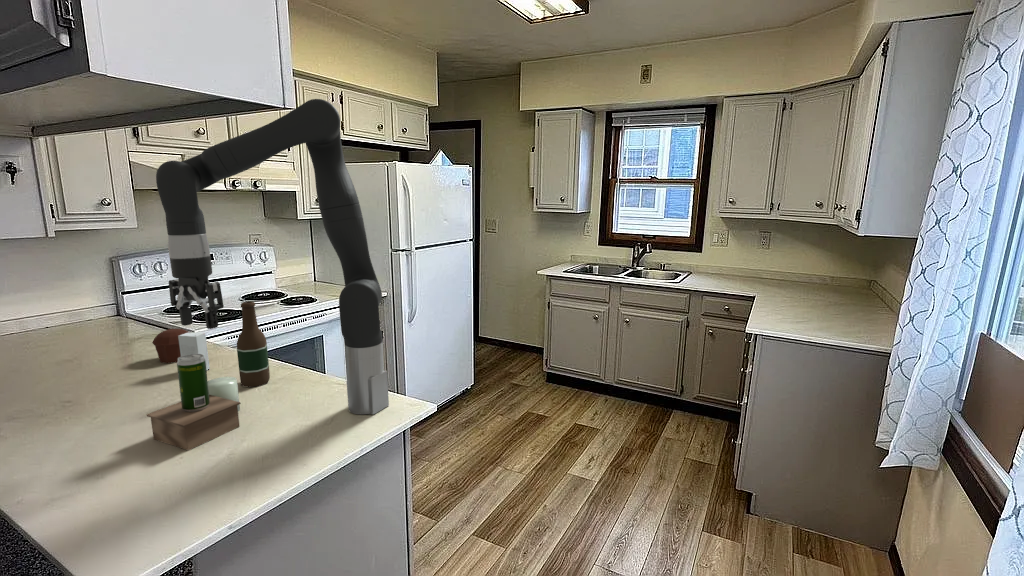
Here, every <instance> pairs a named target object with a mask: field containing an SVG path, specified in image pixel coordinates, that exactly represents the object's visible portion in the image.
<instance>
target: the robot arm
mask: <svg viewBox="0 0 1024 576" xmlns="http://www.w3.org/2000/svg"><path fill="white" fill-rule="evenodd" d="M303 144H305V145H306V148H307V150H308V151H307V152H308V154H309V157H310V160H311V162H312V167H313V171H314V178H315V179H314V181H315V182H314V183H315V190H316V198H317V203H318V209H319V212H320V216H321V220H322V224H323V226H324V227H323V228H324V231H325V233H326V235H327V238H328V240H329V242H330V244H331V246H332V248H333V249H334V252H335V253H336V256H337V258H338V260H339V262H340V265H341V269H342V274H343V281H344V288H342V289H341V291H340V295H339V299H338V308H339V309H338V311H339V320H340V331H341V336H342V338H343V346H344V361H345V363H344V364H345V378H346V392H347V393H346V395H347V407H348V411H349V412H350V413H351V414H353V415H354V414H355V415H375V414H377V413H379V412H380V411H382V410H383V409H386V408H387V407H389V406H390V403H389V402H390V401H389V383H388V382H389V379H388V378H389V377H388V371H387V370H386V369H385V368H384V366H385V365H384V343H383V331H382V329H381V323H380V308H379V307H380V305H381V303H382V299H383V293H382V292H383V291H382V289H381V286H380V283H379V281H378V277H377V275H376V271H375V269H374V265H373V263H372V260H371V259H372V258H371V257H370V250H369V244H368V238H367V233H366V228H365V227H366V226H365V222H364V217H363V213H362V209H361V205H360V201H359V197H358V194H357V190H356V189H355V185H354V182H353V180H352V178H351V176H350V173H349V171H348V168H347V165H346V161H345V157H344V153H343V152H344V151H343V145H342V138H341V117H340V114H339V111H338V109H337V108H336V107H335V106H334V104H332V103H331V102H329V101H327V100H325V99H322V98H312V99H308V100H307V101H305V102H303V103H302V104H300V105H299V106H297V107H296V108H294V109H292V110H290V111H289V112H288V113H286V114H284V115H283V116H281V117H279V118H277V119H275V120H273V121H271V122H269V123H266V124H265V125H263V126H260V127H258V128H255V129H253V130H250V131H247V132H245V133H241V134H239V135H237V136H234V137H231V138H230V139H227V140H224V141H222V142H219V143H217V144H214V145H212V146H209V147H208V148H205V149H204V150H202V153H200V154H197V155H195V156H192V157H190V158H187V159H185V160H181V161H180V160H167V161H165V162H163V163H162V164H160V166H158V168H157V170H156V173H155V174H156V175H155V179H156V180H155V182H156V186H157V187H156V188H157V193H158V196H159V198H160V202H161V205H162V208H163V210H164V214H165V222H166V223H165V225H166V231H167V232H166V233H167V249H168V256H169V262H170V268H171V269H170V271H171V276H172V278H174V279H172V280H169V281H168V289H169V297H170V298H169V299H170V305H171V306H172V307H175V308H176V309H177V310H179V312H178V313H179V319H180V324H181V326H184V327H185V326H189V325H192V324H193V323H194V321H193V315H192V314H193V313H192V307H191V306H192V303H193V302H196V304H197V305H199V306H201V308H202V309H203V311H204V320H205V325H206V326H205V327H206V329H208V330H212V329H216V328H218V326H219V321H218V311H219V310H221V309H224V301H223V293H222V288H221V283H220V282H219V281H214V282H210V281H209V276H212V275H213V268H212V267H213V266H212V258H211V252H210V251H211V250H210V243H209V240H208V235H207V228H206V222H205V217H204V213H203V211H202V208H200V206H199V205H200V204H199V199H198V192H200V191H203V190H204V189H206V188H208V187H211V186H212V185H214V184H216V183H218V182H219V181H221V180H226V179H228V178H231V177H233V176H235V175H239V174H241V173H243V172H245V171H248V170H250V169H252V168H254V167H256V166H258V165H260V164H262V163H263V162H265V161H268V160H269V159H270V158H272V157H274V156H275V155H278V154H280V153H282V152H283V151H287V150H288V149H290V148H291V149H292V148H293V147H295V146H299V145H303ZM176 296H177V297H176ZM215 300H216V301H217V302H216V301H215Z"/></svg>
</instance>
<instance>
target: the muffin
mask: <svg viewBox="0 0 1024 576" xmlns="http://www.w3.org/2000/svg"><path fill="white" fill-rule="evenodd" d="M188 332H189V333H191V332H190V331H188V330H186V329H183V328H169V329H166V330H162V331H161V332H159V333H158V334H156V336H155V337H154V339H153V340H152V342H151V344H153V346H154V347H155V350H156V353H157V356H158V359H159V361H160V362H161V364H172V363H171V362H175V363H177V362H178V358H179V357H181V353H180V346H179V339H178V336H179V335H182V334H185V333H188Z"/></svg>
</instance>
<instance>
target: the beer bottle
mask: <svg viewBox="0 0 1024 576" xmlns="http://www.w3.org/2000/svg"><path fill="white" fill-rule="evenodd" d="M255 306H256V302H255V301H251V300H250V301H249V300H248V301H243V302H241V303H240V308H241V316H242V317H241V319H242V321H241V322H242V327H241V328H242V329H241V332H240V334H239V335H238V337H237V341H236V352H237V353H236V354H237V363H238V370H239V371H238V373H239V380H240V385H241V386H242V387H245V388H256V387H261V386H263V385H266V384H268V383H269V381H270V380H271V377H270V376H271V375H270V364H269V363H270V362H269V361H270V360H269V352H268V343H267V338H266V336H265V334H264V332H263V331H262V330H261V329H260V327H259V324H258V319H257V315H256V314H257V313H256V307H255Z"/></svg>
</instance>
